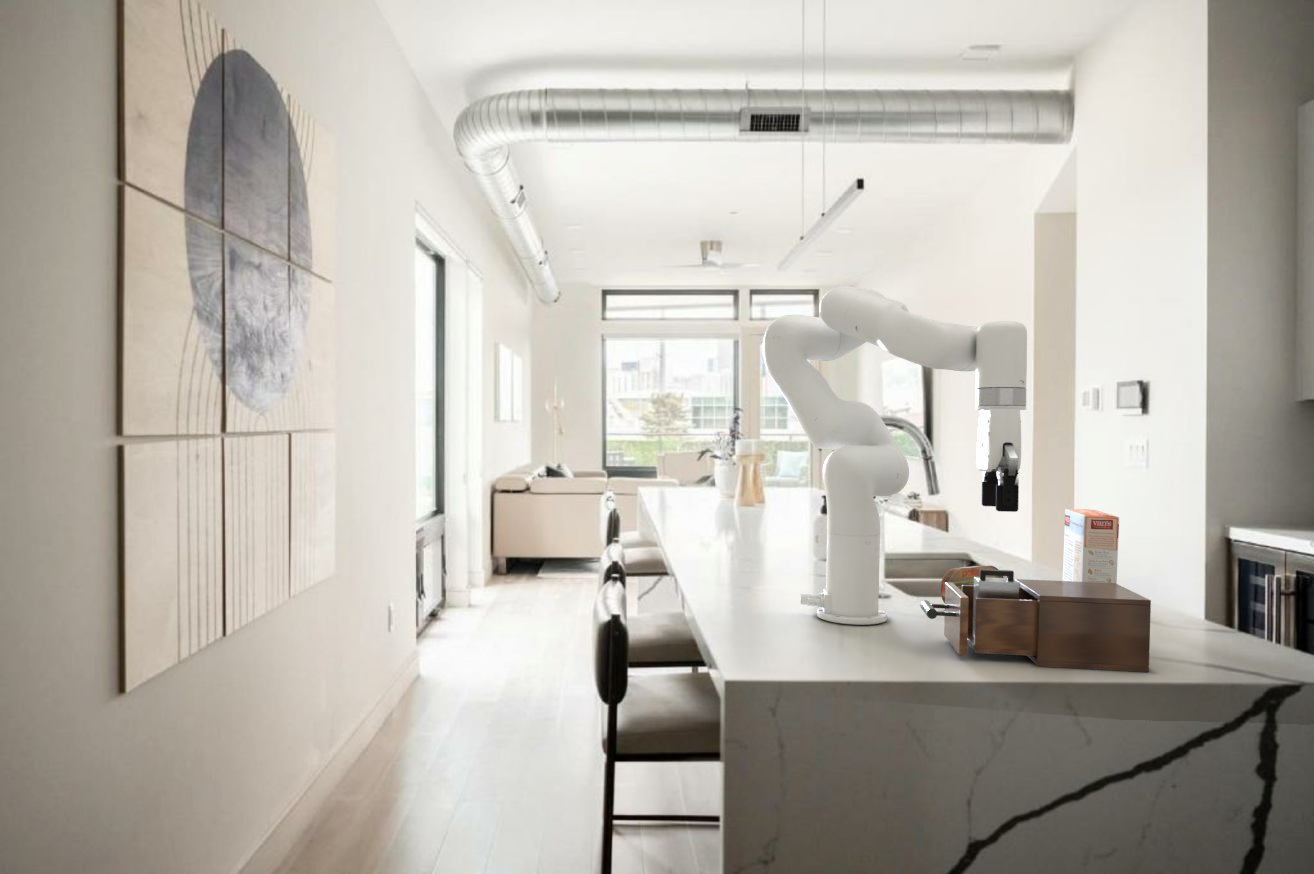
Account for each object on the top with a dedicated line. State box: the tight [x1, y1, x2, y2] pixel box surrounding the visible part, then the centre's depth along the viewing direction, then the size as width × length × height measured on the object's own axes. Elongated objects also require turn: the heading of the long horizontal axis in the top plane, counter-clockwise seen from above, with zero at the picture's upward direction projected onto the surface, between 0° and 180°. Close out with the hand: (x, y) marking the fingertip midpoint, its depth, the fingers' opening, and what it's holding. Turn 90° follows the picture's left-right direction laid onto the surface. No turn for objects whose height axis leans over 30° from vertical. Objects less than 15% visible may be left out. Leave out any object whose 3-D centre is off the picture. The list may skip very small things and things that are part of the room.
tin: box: [940, 565, 1004, 604], centre depth 179 cm, size 15×3×8 cm, turn 117°
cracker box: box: [1062, 508, 1120, 584], centre depth 162 cm, size 14×6×21 cm, turn 168°
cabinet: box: [1014, 578, 1152, 673], centre depth 143 cm, size 16×15×11 cm
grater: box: [973, 569, 1019, 638], centre depth 144 cm, size 6×4×11 cm, turn 82°
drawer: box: [919, 582, 1038, 657], centre depth 145 cm, size 19×13×9 cm
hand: (999, 508), depth 145 cm, fingers open, 9 cm apart
